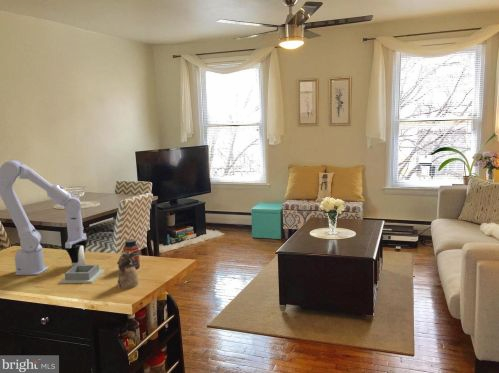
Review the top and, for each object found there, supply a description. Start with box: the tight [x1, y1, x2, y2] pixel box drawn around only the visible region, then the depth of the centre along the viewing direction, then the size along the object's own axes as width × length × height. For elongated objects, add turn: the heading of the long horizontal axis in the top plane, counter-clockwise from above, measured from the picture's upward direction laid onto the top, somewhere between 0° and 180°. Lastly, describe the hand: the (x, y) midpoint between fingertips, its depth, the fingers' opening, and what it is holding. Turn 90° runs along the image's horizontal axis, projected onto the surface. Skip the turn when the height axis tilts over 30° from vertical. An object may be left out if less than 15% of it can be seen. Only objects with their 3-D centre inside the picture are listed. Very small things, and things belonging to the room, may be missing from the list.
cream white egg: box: [70, 245, 86, 268], centre depth 173 cm, size 5×5×8 cm
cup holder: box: [58, 264, 105, 284], centre depth 161 cm, size 12×12×3 cm
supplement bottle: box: [122, 238, 141, 270], centre depth 169 cm, size 6×6×11 cm
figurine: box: [116, 252, 139, 290], centre depth 152 cm, size 7×7×12 cm
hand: (78, 260), depth 173 cm, fingers closed on cream white egg, 5 cm apart
